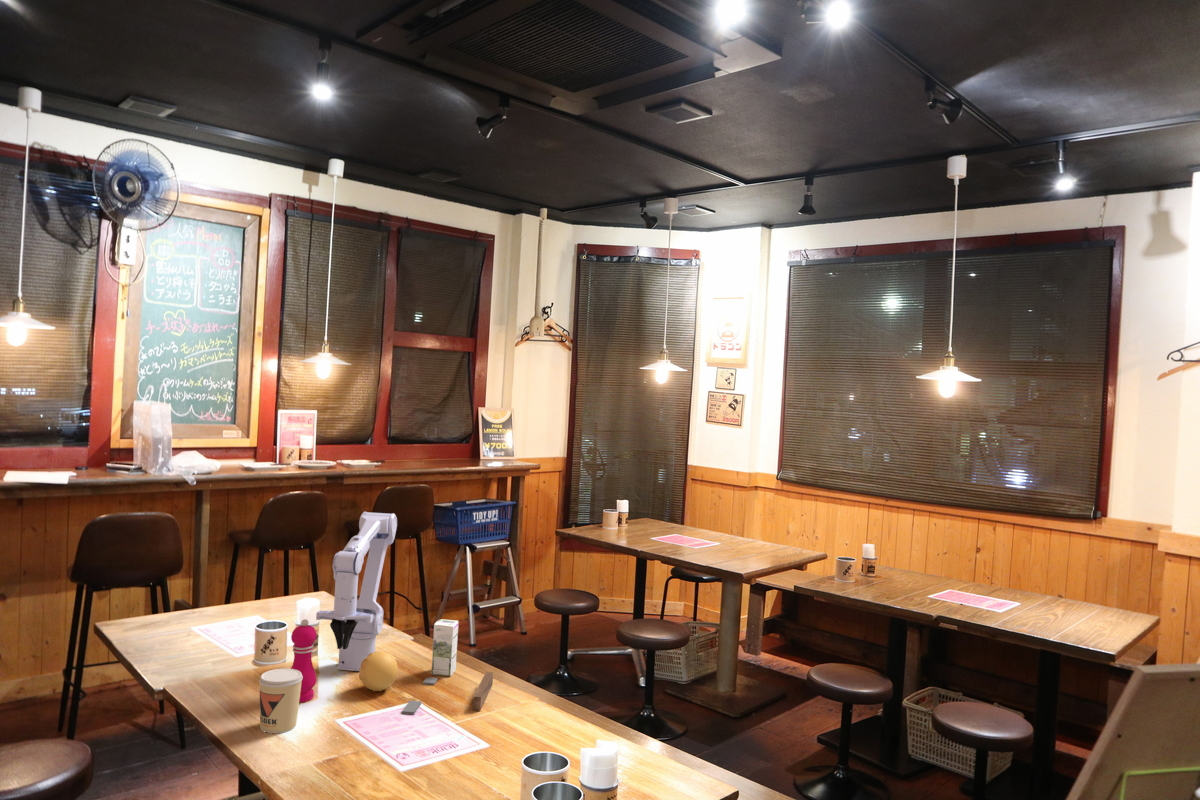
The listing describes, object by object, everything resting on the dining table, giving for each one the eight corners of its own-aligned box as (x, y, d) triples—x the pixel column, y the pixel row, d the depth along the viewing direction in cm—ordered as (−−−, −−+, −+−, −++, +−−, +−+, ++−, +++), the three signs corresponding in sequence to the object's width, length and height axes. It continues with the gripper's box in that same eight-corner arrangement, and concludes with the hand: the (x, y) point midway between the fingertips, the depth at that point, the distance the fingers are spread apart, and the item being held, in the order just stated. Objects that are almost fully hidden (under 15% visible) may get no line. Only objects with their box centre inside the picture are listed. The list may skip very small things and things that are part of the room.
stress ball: (400, 693, 207) (398, 659, 214) (397, 674, 201) (394, 640, 208) (361, 701, 205) (360, 667, 212) (357, 682, 198) (356, 647, 205)
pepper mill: (305, 705, 193) (309, 624, 194) (278, 701, 195) (283, 621, 195) (321, 695, 201) (325, 617, 201) (295, 691, 202) (300, 614, 202)
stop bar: (472, 710, 196) (473, 696, 196) (485, 684, 214) (485, 671, 214) (480, 710, 196) (481, 697, 196) (492, 685, 214) (493, 672, 214)
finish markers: (401, 713, 192) (402, 711, 192) (426, 679, 216) (426, 677, 216) (413, 714, 192) (414, 712, 192) (437, 679, 216) (437, 677, 216)
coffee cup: (247, 728, 179) (250, 676, 179) (281, 715, 187) (283, 665, 187) (275, 738, 174) (278, 685, 174) (308, 724, 183) (311, 673, 183)
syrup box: (456, 670, 224) (459, 619, 224) (450, 677, 218) (453, 625, 218) (437, 668, 225) (439, 618, 225) (430, 675, 219) (433, 623, 219)
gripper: (312, 598, 203) (309, 650, 203) (367, 602, 202) (364, 654, 202) (323, 592, 210) (320, 642, 210) (376, 595, 209) (373, 646, 209)
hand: (342, 648), depth 207 cm, fingers closed
